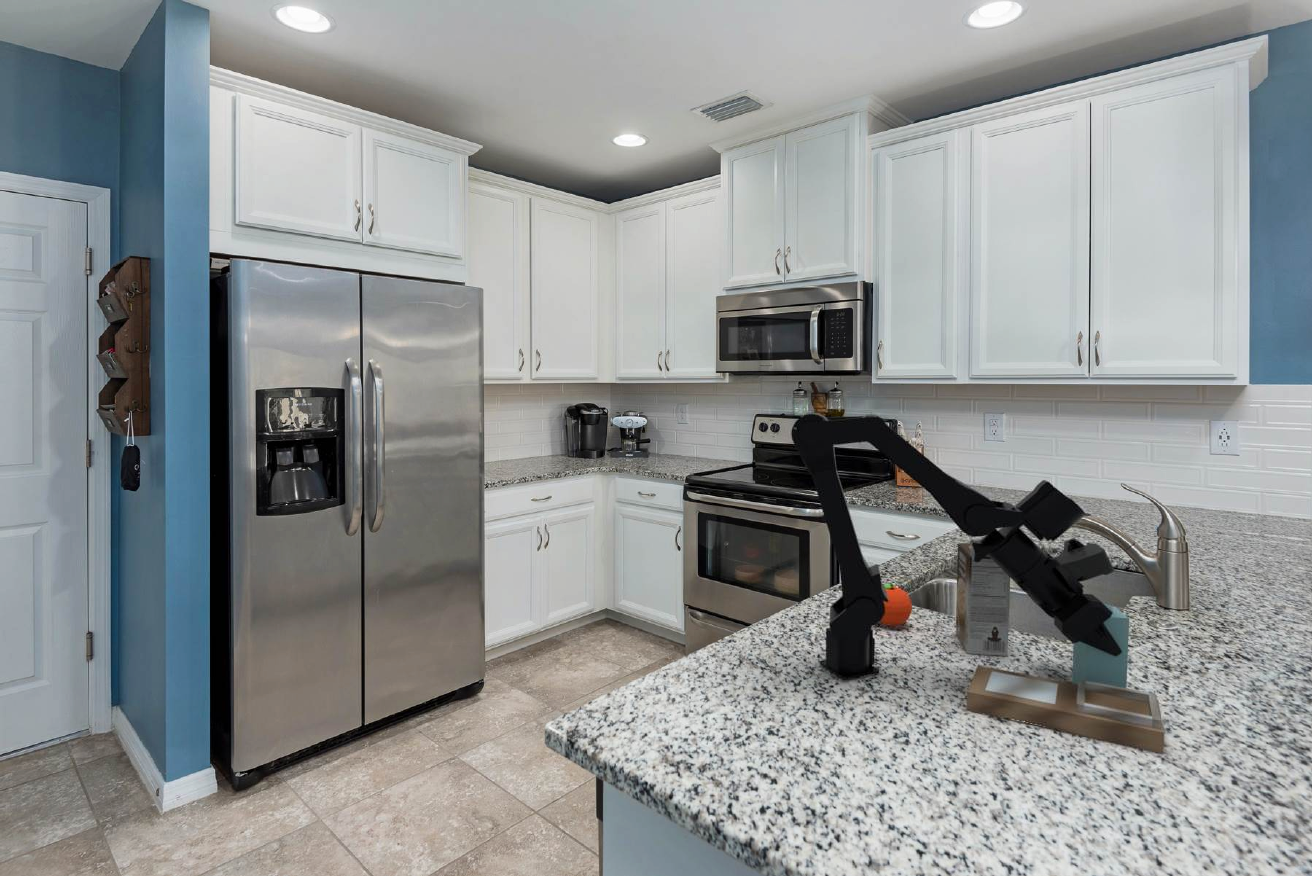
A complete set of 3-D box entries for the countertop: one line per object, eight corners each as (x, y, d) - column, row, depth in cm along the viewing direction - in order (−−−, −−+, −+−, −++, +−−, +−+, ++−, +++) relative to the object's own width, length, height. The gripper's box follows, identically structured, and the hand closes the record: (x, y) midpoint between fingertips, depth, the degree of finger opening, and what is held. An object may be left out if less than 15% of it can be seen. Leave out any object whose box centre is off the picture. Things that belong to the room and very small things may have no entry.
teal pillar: (1084, 698, 95) (1087, 610, 94) (1072, 683, 100) (1075, 599, 99) (1125, 702, 94) (1129, 613, 93) (1111, 686, 99) (1115, 601, 98)
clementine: (858, 620, 127) (858, 581, 127) (887, 614, 130) (888, 577, 130) (890, 634, 120) (890, 593, 119) (920, 627, 123) (921, 588, 122)
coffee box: (954, 634, 120) (956, 541, 118) (994, 636, 118) (996, 543, 117) (966, 654, 111) (969, 554, 109) (1010, 657, 109) (1013, 556, 108)
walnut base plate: (966, 709, 92) (967, 684, 92) (977, 682, 100) (978, 658, 100) (1163, 753, 81) (1164, 724, 80) (1157, 718, 89) (1158, 691, 89)
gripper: (1096, 539, 87) (1195, 633, 85) (1052, 512, 105) (1132, 589, 103) (1024, 596, 90) (1119, 689, 88) (993, 561, 108) (1071, 637, 106)
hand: (1111, 646), depth 96 cm, fingers open, 5 cm apart
